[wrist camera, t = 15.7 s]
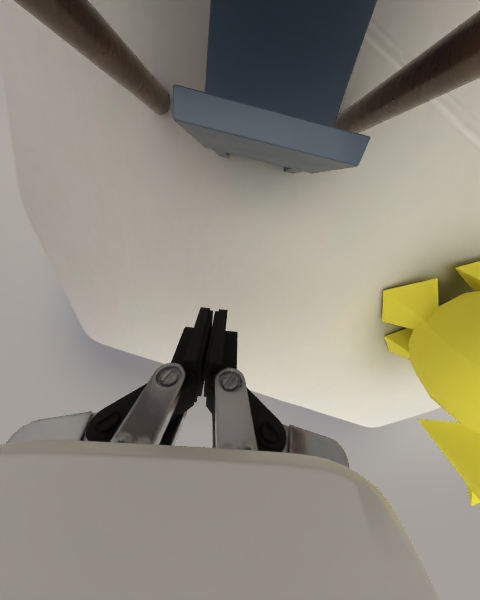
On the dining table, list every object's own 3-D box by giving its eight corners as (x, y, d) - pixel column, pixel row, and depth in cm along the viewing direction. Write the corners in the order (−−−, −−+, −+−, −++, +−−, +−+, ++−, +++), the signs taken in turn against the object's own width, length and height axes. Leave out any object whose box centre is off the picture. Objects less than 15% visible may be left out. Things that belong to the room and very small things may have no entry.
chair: (216, 157, 18) (173, 119, 7) (229, 24, 14) (170, -530, 3) (294, 176, 18) (358, 166, 8) (330, 54, 14) (572, -318, 4)
